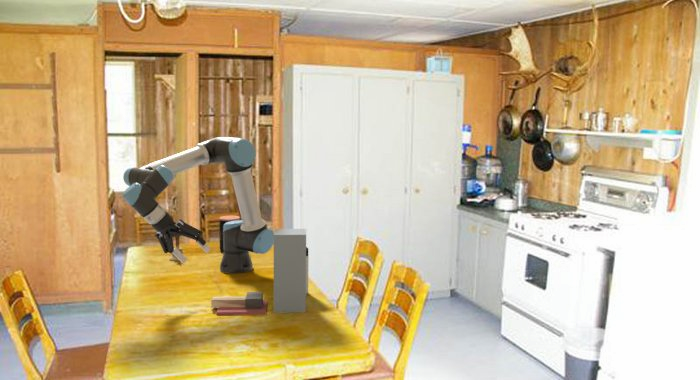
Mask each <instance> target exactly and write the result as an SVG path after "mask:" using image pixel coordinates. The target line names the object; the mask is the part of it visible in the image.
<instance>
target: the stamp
mask: <svg viewBox="0 0 700 380" xmlns="http://www.w3.org/2000/svg"><path fill="white" fill-rule="evenodd" d="M263 300H264V291H247V293H246V296H212V298H211V300H210V302H211V303H210V305H211V308H218V307H245V309H262V304H263Z"/></svg>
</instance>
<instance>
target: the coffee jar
mask: <svg viewBox="0 0 700 380" xmlns="http://www.w3.org/2000/svg"><path fill="white" fill-rule="evenodd" d="M218 219H219V229H218V230H219V231H218V232H219V250H220V252H221V253H223V254H224V247H223V226H224V224H225V223H226V222H230V221H237V220H240V219H241V216H238V215H221V216H220V217H219V218H218Z"/></svg>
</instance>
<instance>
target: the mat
mask: <svg viewBox="0 0 700 380" xmlns="http://www.w3.org/2000/svg"><path fill="white" fill-rule="evenodd" d="M267 307H268V299H263V304H262V309H245V307H217V310H216V313H215V314H216V316H225V315H226V316H230V315H231V316H233V315H235V316H237V315H240V316H241V315H242V316H243V315H266V314H267Z"/></svg>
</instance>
